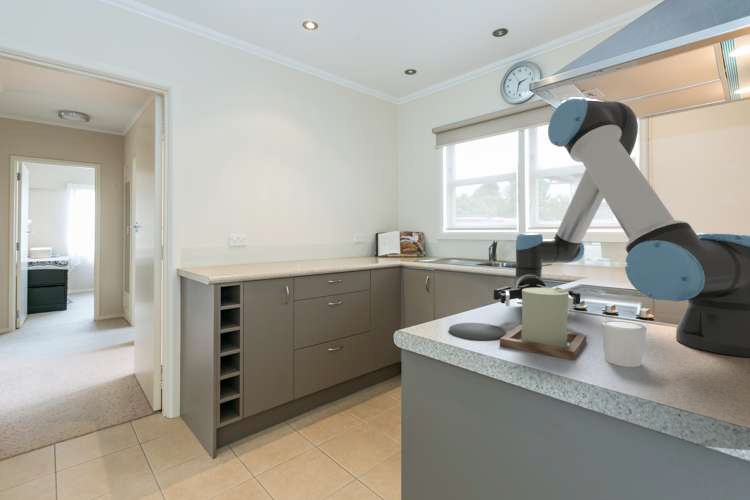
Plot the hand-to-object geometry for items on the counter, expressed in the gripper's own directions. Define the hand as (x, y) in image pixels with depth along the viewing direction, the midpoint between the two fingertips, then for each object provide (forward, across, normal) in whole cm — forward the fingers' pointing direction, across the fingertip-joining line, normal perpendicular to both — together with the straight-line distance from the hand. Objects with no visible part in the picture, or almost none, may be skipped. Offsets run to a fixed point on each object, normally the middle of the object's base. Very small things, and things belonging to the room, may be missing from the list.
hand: (538, 302), depth 86 cm
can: (+8, 0, -8) cm, 11 cm away
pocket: (+8, 0, -8) cm, 11 cm away
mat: (+2, +14, -8) cm, 16 cm away
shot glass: (+14, -13, -8) cm, 21 cm away
